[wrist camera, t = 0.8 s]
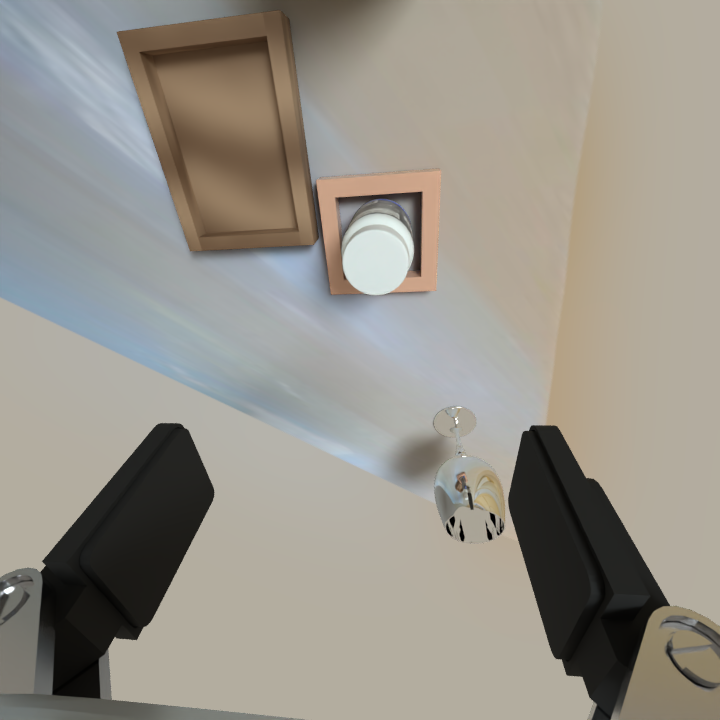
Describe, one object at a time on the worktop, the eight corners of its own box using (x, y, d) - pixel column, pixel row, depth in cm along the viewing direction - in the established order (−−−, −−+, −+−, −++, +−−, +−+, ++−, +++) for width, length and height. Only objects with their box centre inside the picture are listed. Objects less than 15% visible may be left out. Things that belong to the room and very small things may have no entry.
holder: (320, 177, 26) (316, 180, 25) (439, 168, 25) (441, 170, 24) (333, 287, 31) (331, 294, 30) (434, 283, 30) (436, 290, 29)
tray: (137, 38, 23) (116, 31, 21) (288, 18, 22) (279, 10, 20) (201, 244, 30) (190, 251, 28) (318, 237, 29) (314, 244, 27)
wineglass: (428, 401, 37) (439, 503, 27) (486, 401, 36) (519, 506, 26) (426, 440, 40) (435, 545, 30) (479, 441, 40) (506, 549, 30)
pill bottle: (408, 261, 29) (410, 305, 22) (350, 257, 30) (335, 299, 23) (414, 198, 27) (420, 225, 20) (351, 195, 27) (335, 220, 20)
